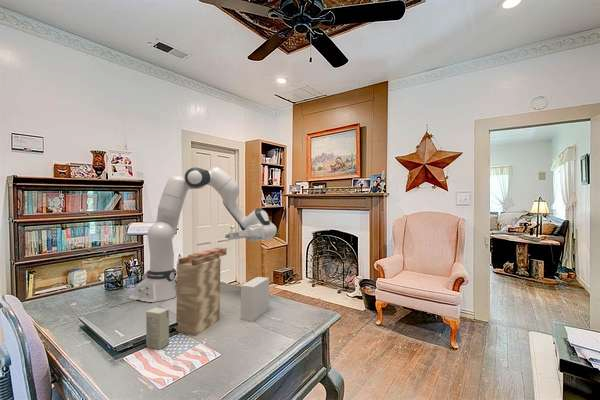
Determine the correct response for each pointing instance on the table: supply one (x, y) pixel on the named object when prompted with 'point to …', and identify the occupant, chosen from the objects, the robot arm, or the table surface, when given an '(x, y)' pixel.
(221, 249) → the bar
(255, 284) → the shelf
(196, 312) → the chute stand
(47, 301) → the table surface
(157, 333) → the skincare box
